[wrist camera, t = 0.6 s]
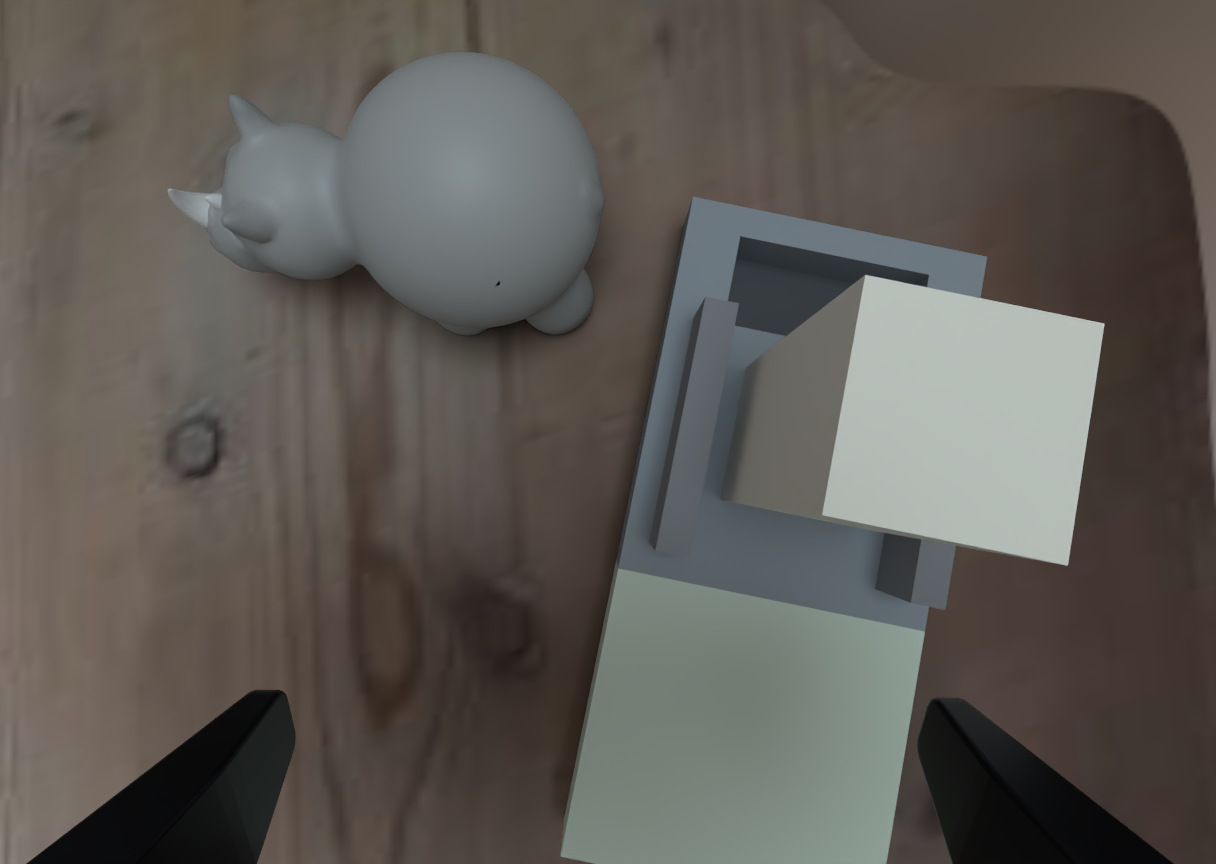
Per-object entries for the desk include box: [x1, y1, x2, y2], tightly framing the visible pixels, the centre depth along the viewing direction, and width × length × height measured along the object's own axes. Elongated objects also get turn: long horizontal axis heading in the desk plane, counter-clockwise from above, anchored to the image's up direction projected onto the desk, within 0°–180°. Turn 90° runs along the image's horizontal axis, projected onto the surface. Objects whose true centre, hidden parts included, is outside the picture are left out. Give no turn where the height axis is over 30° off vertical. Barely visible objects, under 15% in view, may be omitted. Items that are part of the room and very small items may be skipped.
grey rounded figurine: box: [168, 52, 605, 336], centre depth 21 cm, size 8×12×9 cm, turn 89°
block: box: [720, 275, 1104, 566], centre depth 17 cm, size 4×4×10 cm
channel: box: [560, 197, 987, 864], centre depth 22 cm, size 22×10×5 cm, turn 168°
